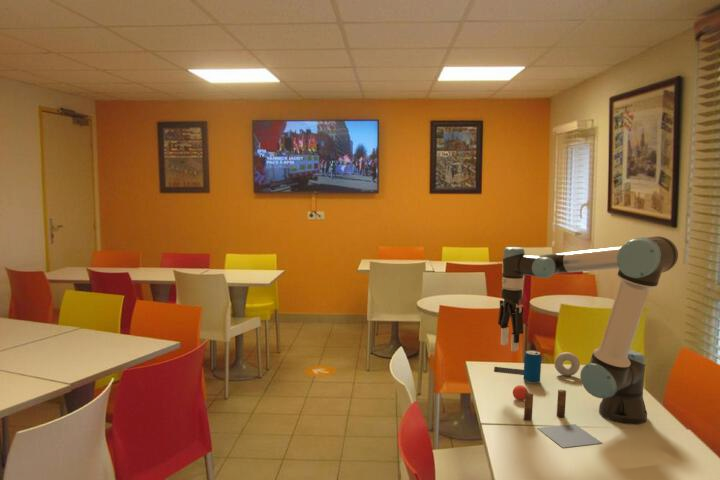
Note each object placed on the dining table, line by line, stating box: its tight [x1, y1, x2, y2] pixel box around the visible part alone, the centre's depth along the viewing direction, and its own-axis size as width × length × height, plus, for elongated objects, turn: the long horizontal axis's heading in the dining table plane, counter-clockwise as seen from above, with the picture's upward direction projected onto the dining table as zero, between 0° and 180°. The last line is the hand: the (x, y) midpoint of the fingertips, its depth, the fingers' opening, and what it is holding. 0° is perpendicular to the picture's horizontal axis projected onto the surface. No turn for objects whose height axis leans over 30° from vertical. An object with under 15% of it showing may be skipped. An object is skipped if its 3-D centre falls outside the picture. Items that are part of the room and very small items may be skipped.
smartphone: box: [493, 366, 524, 376], centre depth 244 cm, size 7×1×14 cm
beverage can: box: [523, 349, 542, 385], centre depth 231 cm, size 6×6×12 cm
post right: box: [556, 389, 567, 419], centre depth 198 cm, size 3×3×9 cm
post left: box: [523, 391, 534, 422], centre depth 194 cm, size 3×3×9 cm
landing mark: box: [537, 423, 603, 449], centre depth 183 cm, size 14×14×1 cm
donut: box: [554, 351, 581, 377], centre depth 239 cm, size 10×3×10 cm, turn 75°
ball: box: [512, 384, 529, 402], centre depth 212 cm, size 6×6×6 cm
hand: (509, 347), depth 219 cm, fingers open, 7 cm apart
